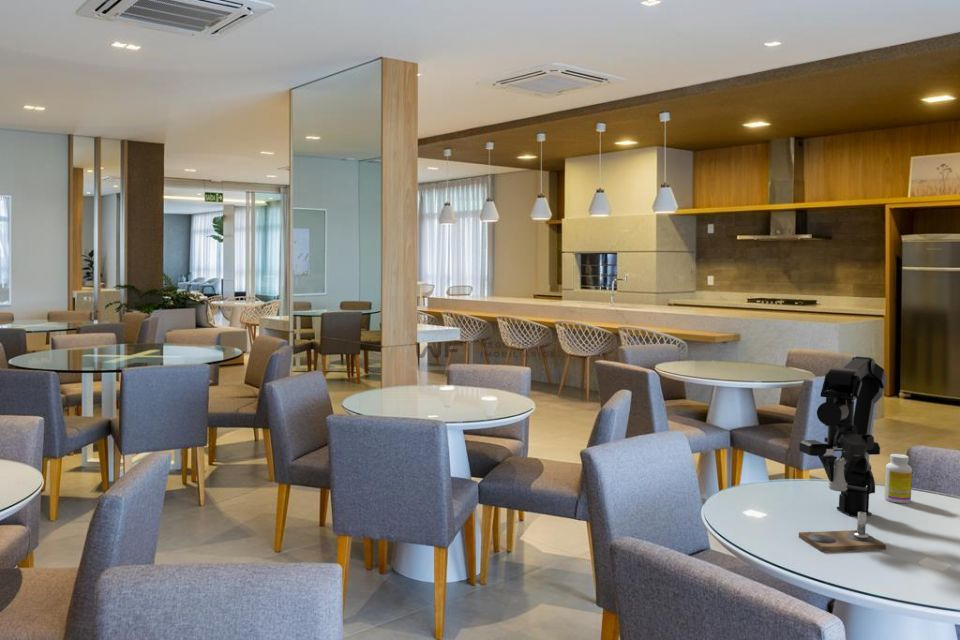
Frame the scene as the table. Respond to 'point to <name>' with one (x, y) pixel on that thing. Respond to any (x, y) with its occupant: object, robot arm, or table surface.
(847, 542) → the board
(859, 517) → the point post
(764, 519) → the table surface
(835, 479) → the rook chess piece
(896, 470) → the supplement bottle
